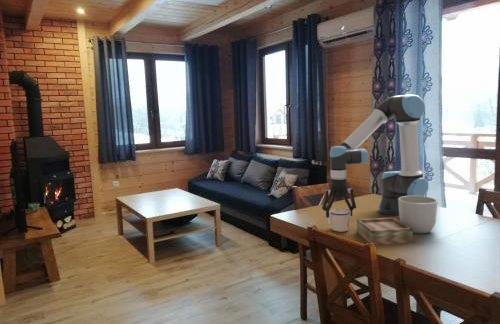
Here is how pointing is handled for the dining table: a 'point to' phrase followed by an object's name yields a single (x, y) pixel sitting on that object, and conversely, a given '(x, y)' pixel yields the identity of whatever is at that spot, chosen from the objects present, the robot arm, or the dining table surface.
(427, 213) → the planter
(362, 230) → the brown wooden box
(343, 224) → the teacup with lid
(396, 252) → the dining table surface
